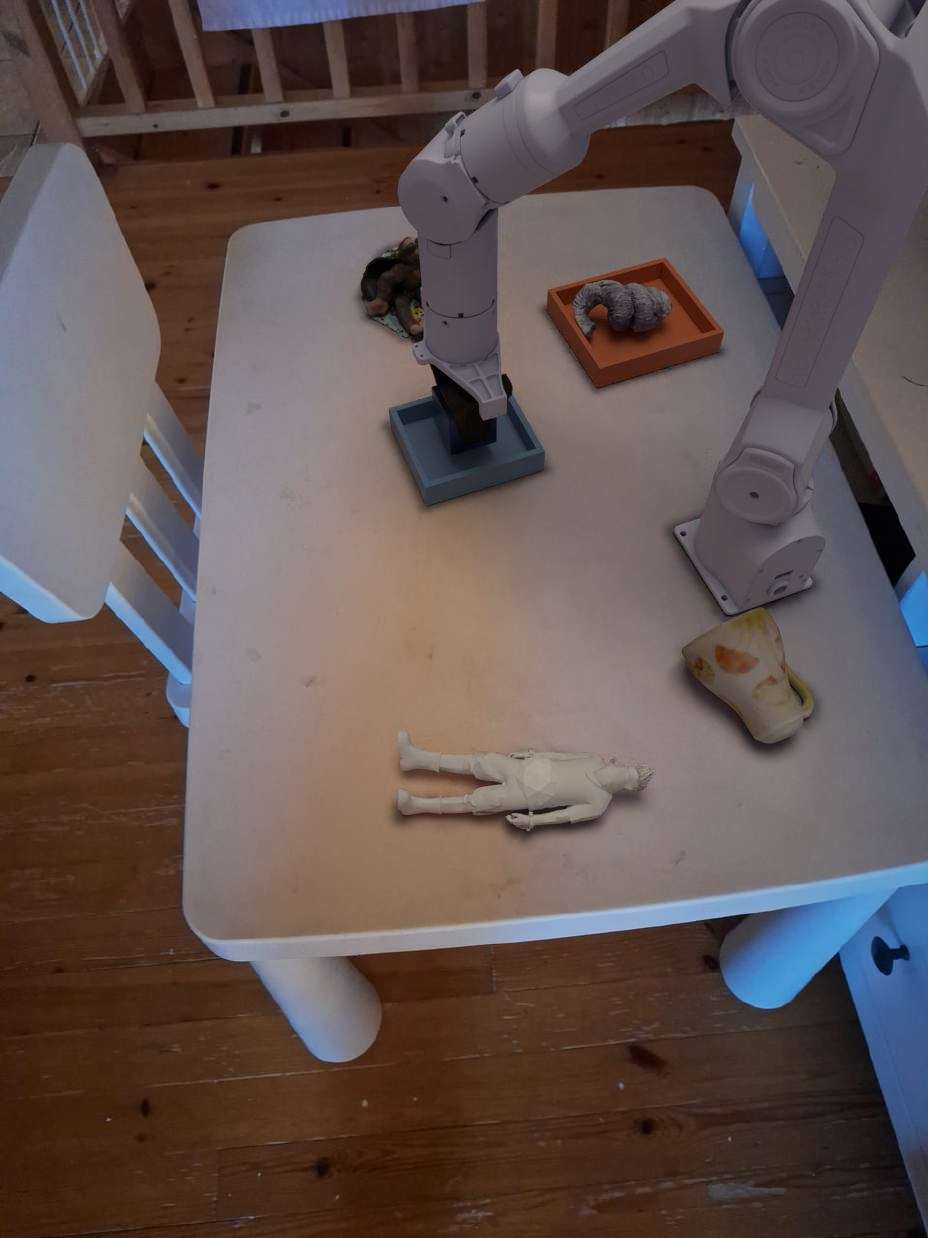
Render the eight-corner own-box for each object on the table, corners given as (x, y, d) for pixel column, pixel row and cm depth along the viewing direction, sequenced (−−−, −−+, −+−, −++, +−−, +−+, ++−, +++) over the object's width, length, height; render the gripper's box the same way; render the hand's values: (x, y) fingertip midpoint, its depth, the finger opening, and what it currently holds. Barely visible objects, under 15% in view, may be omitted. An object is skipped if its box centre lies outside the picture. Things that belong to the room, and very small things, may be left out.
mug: (751, 779, 66) (717, 684, 60) (692, 702, 74) (658, 612, 68) (843, 732, 65) (818, 632, 60) (775, 660, 73) (746, 566, 68)
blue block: (497, 442, 80) (497, 406, 77) (450, 456, 80) (448, 420, 76) (479, 408, 83) (478, 372, 79) (434, 422, 82) (431, 386, 78)
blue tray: (543, 469, 81) (545, 450, 79) (426, 506, 80) (425, 488, 77) (501, 394, 86) (501, 374, 84) (390, 427, 85) (388, 407, 82)
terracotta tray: (719, 351, 89) (724, 331, 87) (597, 388, 87) (599, 368, 84) (661, 277, 95) (665, 256, 93) (546, 309, 93) (547, 289, 91)
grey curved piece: (569, 343, 90) (664, 337, 92) (584, 328, 85) (685, 323, 86) (564, 288, 90) (660, 284, 91) (579, 270, 84) (680, 266, 86)
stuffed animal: (381, 342, 89) (345, 222, 88) (376, 367, 98) (343, 260, 98) (494, 312, 90) (459, 194, 90) (478, 340, 100) (446, 234, 99)
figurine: (396, 728, 64) (651, 713, 63) (405, 746, 68) (646, 733, 67) (395, 826, 61) (663, 813, 60) (404, 840, 65) (658, 828, 63)
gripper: (380, 250, 71) (396, 379, 83) (443, 369, 64) (450, 492, 76) (463, 228, 73) (467, 358, 84) (534, 343, 65) (528, 468, 77)
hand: (464, 420), depth 80 cm, fingers closed on blue block, 4 cm apart
